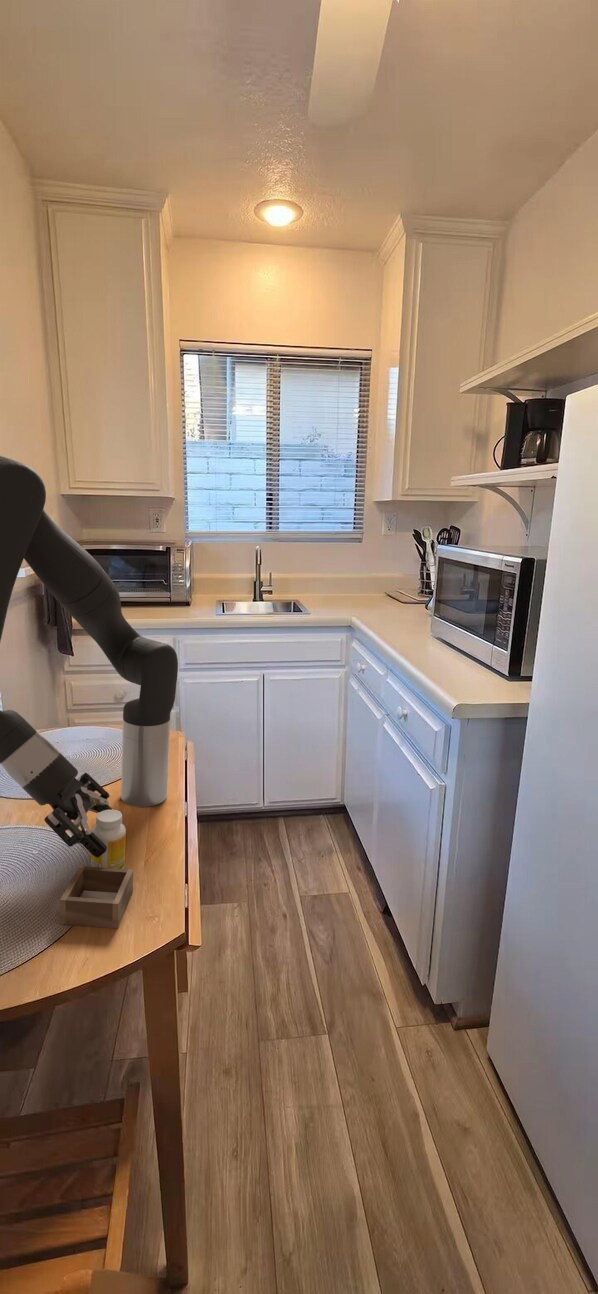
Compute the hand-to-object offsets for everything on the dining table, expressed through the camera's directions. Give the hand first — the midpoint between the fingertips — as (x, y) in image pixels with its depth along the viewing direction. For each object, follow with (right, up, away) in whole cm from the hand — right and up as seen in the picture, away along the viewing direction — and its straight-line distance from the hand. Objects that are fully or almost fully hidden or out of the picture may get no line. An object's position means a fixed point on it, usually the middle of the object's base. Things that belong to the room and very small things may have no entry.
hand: (110, 838), depth 97 cm
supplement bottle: (-1, -5, +1) cm, 6 cm away
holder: (+1, -8, -8) cm, 11 cm away
